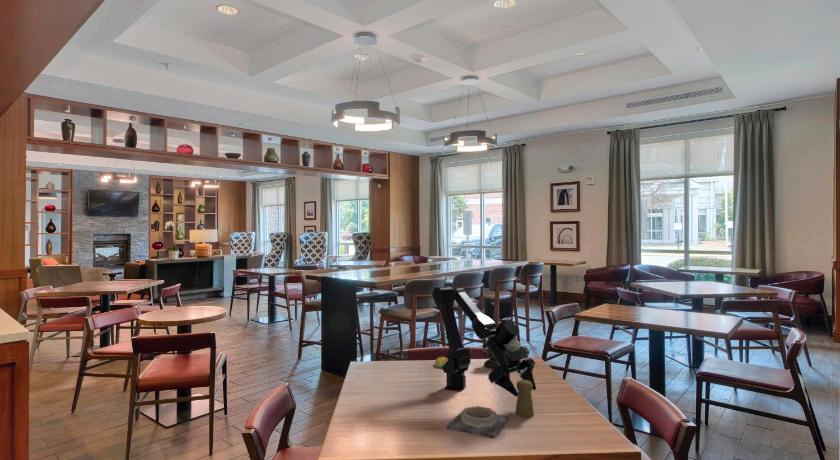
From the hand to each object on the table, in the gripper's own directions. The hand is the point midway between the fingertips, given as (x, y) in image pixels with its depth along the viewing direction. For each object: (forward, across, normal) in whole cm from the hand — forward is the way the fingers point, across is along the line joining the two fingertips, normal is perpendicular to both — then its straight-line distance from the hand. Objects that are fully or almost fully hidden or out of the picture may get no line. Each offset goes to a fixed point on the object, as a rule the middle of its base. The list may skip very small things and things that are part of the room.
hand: (526, 392), depth 155 cm
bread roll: (-36, +16, +46) cm, 61 cm away
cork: (+5, 0, +6) cm, 8 cm away
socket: (+2, -17, +8) cm, 19 cm away
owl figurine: (-24, +36, +35) cm, 56 cm away
